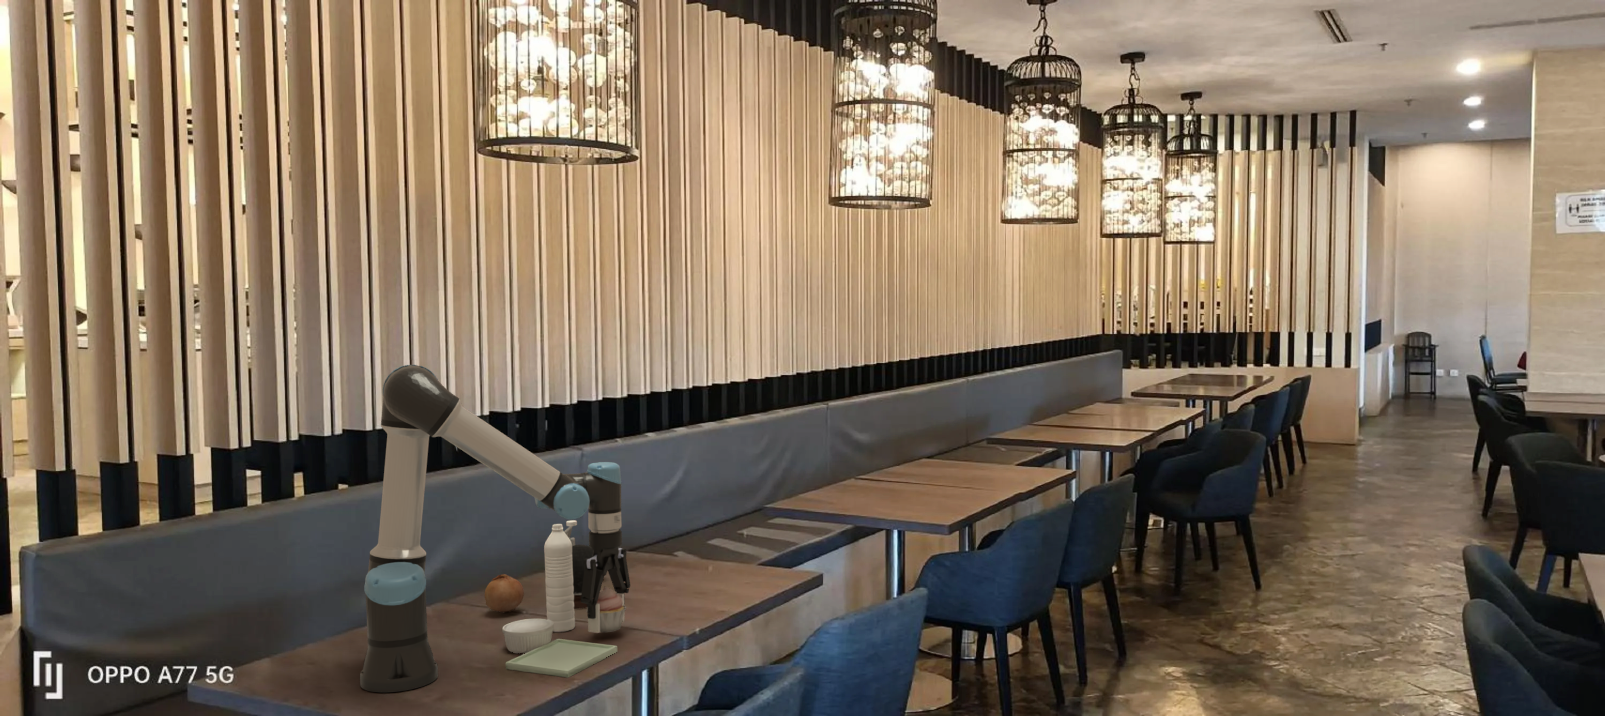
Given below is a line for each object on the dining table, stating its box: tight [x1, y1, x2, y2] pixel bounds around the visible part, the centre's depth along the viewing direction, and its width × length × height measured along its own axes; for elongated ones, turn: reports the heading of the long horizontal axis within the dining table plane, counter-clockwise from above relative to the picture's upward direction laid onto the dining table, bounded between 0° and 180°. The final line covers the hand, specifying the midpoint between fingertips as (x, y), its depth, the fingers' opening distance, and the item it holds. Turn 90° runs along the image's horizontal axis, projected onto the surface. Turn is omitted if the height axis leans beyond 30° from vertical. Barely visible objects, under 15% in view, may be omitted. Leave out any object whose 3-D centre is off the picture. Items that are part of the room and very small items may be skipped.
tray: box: [505, 638, 618, 678], centre depth 246 cm, size 18×16×1 cm
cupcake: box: [585, 585, 627, 633], centre depth 263 cm, size 9×9×10 cm
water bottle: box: [543, 519, 578, 633], centre depth 271 cm, size 9×6×25 cm
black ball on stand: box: [572, 544, 605, 610], centre depth 294 cm, size 13×13×15 cm
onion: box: [484, 573, 525, 614], centre depth 285 cm, size 10×9×10 cm
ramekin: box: [501, 618, 554, 655], centre depth 256 cm, size 11×11×5 cm
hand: (606, 626), depth 264 cm, fingers closed on cupcake, 9 cm apart
